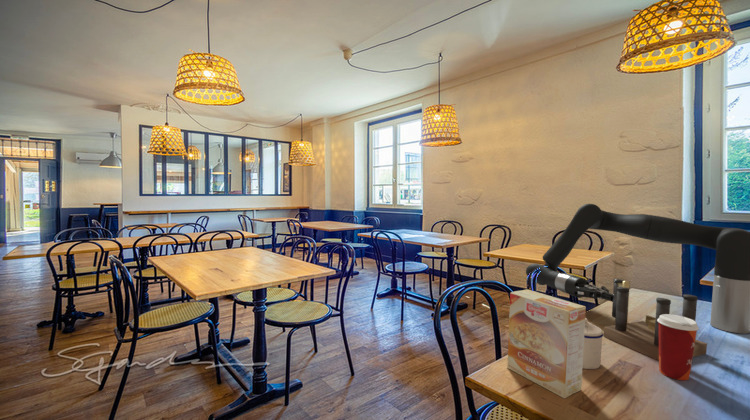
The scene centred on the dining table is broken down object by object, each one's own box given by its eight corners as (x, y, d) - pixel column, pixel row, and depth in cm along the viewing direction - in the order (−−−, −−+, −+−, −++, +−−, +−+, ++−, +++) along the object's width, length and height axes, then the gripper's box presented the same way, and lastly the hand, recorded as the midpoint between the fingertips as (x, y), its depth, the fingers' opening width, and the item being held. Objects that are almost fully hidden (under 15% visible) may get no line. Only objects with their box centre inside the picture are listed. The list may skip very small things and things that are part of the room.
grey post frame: (610, 314, 116) (612, 273, 115) (621, 316, 115) (623, 274, 114) (618, 325, 106) (621, 281, 106) (630, 327, 105) (632, 282, 104)
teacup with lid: (608, 364, 89) (610, 320, 88) (590, 374, 84) (592, 327, 84) (562, 346, 99) (564, 306, 99) (544, 353, 94) (546, 312, 94)
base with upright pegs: (642, 329, 112) (645, 282, 111) (706, 354, 96) (710, 298, 95) (603, 336, 106) (606, 286, 105) (664, 362, 90) (668, 304, 89)
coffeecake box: (506, 368, 87) (508, 292, 85) (524, 361, 90) (527, 288, 89) (564, 399, 74) (568, 311, 73) (582, 390, 77) (587, 305, 76)
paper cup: (703, 384, 80) (707, 326, 79) (665, 380, 82) (669, 323, 81) (680, 367, 88) (684, 314, 87) (646, 364, 89) (650, 311, 89)
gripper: (558, 276, 129) (601, 289, 113) (584, 274, 133) (630, 286, 117) (557, 295, 130) (600, 311, 113) (583, 292, 134) (628, 307, 117)
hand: (615, 298), depth 115 cm, fingers closed
